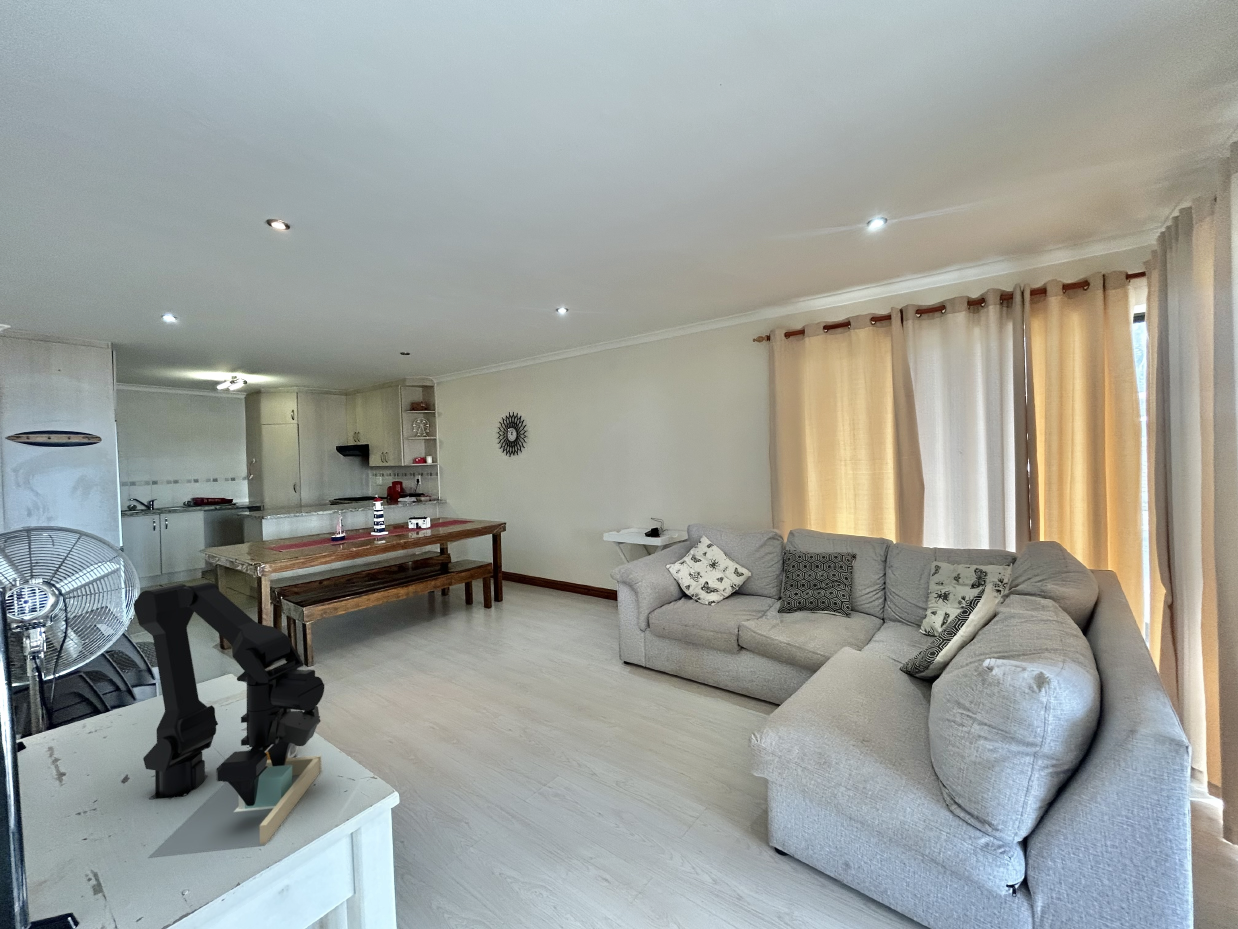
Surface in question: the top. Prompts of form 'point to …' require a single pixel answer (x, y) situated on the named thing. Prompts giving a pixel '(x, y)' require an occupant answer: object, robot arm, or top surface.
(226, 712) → the top surface
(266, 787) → the teal block
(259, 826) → the board
